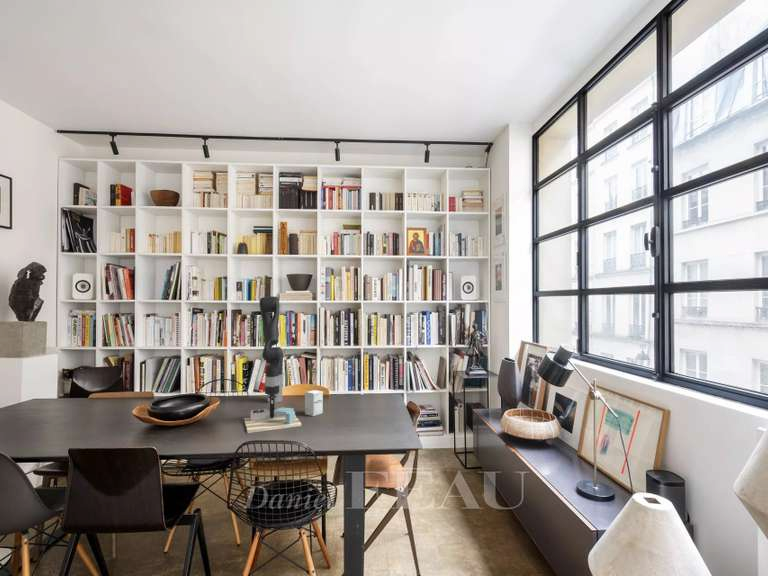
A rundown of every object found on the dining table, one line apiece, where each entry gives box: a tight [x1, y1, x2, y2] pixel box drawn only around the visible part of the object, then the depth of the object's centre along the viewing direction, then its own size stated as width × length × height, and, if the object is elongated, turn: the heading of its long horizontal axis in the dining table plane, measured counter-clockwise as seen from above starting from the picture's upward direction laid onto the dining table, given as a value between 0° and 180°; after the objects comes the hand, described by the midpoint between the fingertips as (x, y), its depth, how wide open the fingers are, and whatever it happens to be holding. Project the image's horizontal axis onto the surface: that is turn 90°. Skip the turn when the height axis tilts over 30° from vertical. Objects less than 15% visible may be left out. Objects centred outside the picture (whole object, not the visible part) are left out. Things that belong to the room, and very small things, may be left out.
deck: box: [243, 415, 302, 434], centre depth 199 cm, size 22×26×1 cm
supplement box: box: [304, 389, 324, 417], centre depth 216 cm, size 7×7×13 cm
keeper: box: [274, 406, 296, 424], centre depth 197 cm, size 9×7×7 cm
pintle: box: [256, 406, 262, 413], centre depth 202 cm, size 2×2×8 cm
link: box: [250, 408, 286, 422], centre depth 204 cm, size 19×8×4 cm, turn 107°
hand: (271, 416), depth 204 cm, fingers closed on link, 4 cm apart
